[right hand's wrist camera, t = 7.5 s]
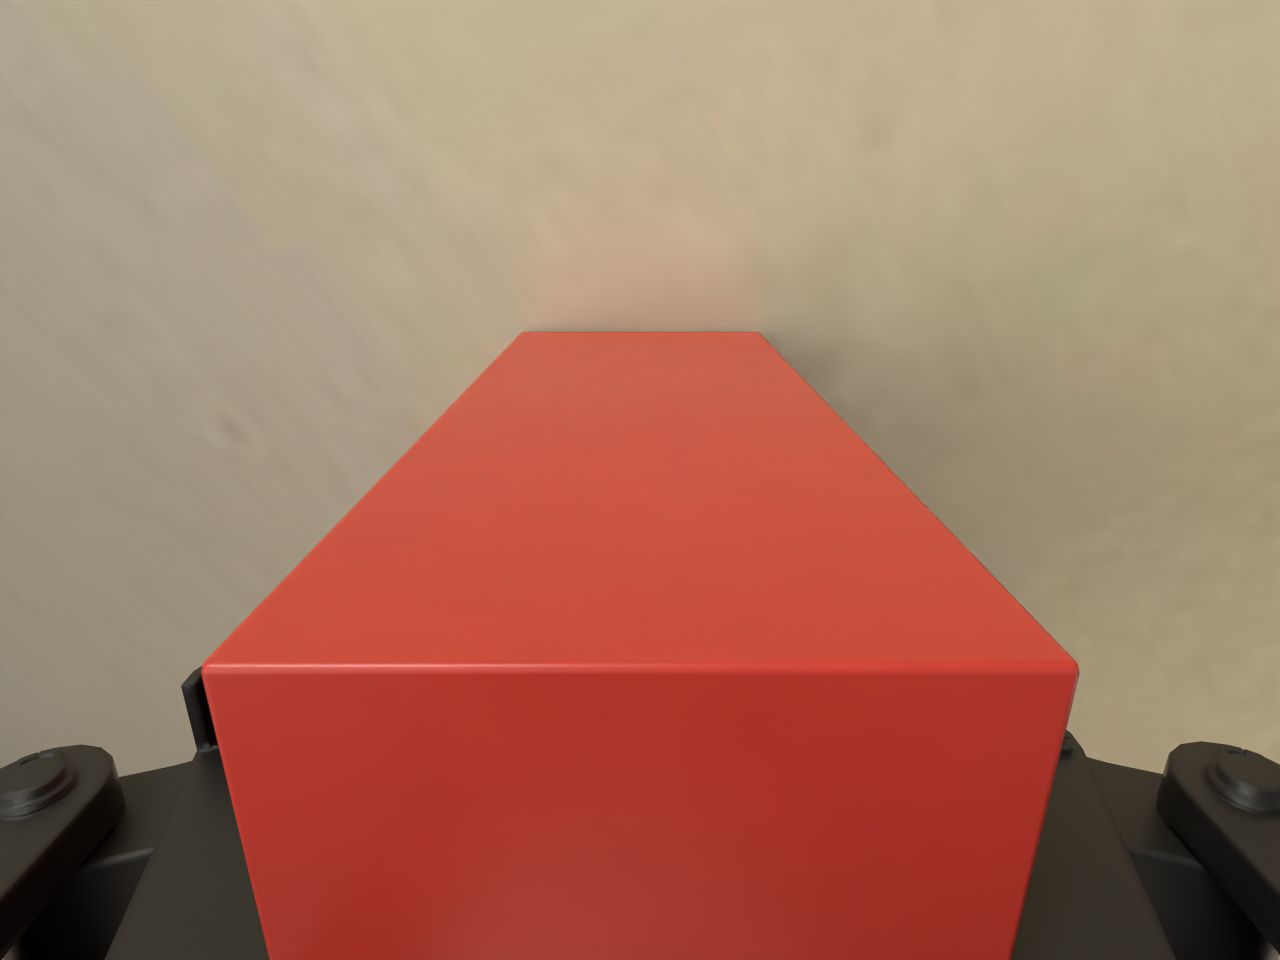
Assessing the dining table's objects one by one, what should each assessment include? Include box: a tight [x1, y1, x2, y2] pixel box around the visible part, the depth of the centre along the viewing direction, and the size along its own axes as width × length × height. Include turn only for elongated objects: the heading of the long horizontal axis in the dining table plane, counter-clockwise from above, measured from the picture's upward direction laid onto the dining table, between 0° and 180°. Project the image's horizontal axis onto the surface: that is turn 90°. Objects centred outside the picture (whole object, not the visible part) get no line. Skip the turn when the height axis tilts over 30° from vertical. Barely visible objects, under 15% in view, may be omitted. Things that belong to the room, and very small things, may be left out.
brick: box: [201, 332, 1079, 960], centre depth 11 cm, size 5×8×12 cm, turn 0°
